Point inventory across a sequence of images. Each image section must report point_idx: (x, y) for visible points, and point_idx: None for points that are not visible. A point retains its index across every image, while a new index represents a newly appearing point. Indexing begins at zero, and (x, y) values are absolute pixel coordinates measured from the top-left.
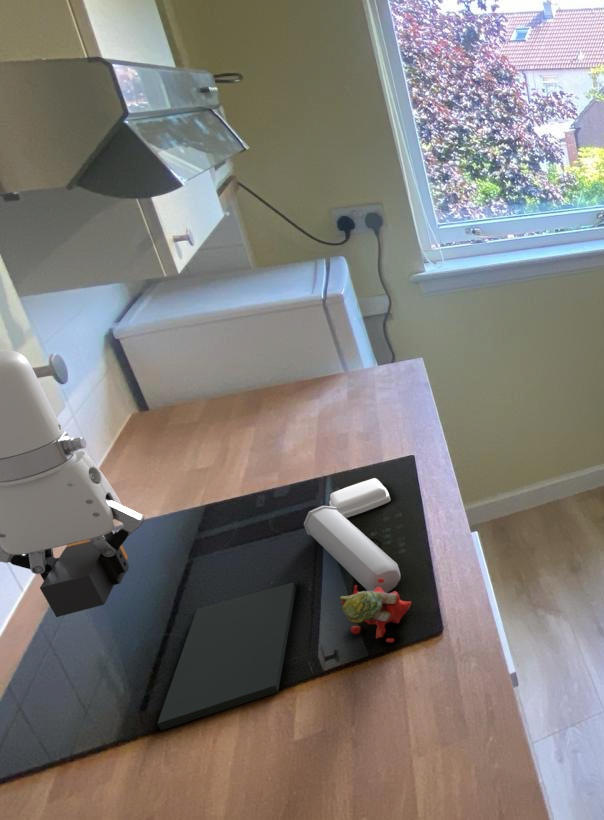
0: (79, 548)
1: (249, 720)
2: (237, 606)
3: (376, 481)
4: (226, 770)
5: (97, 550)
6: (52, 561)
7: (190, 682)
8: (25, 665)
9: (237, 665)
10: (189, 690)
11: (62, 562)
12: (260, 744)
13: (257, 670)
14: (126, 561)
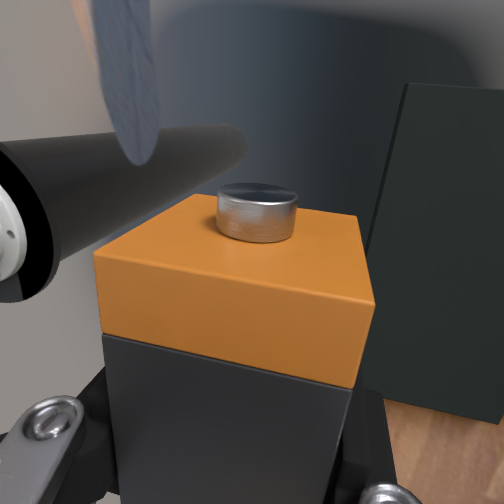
0: (186, 406)
1: (442, 433)
2: (498, 135)
3: None
4: (403, 482)
5: (291, 492)
6: (99, 475)
7: (380, 333)
8: (108, 63)
9: (455, 342)
10: (378, 351)
11: (146, 479)
12: (446, 475)
13: (482, 375)
14: (383, 411)
